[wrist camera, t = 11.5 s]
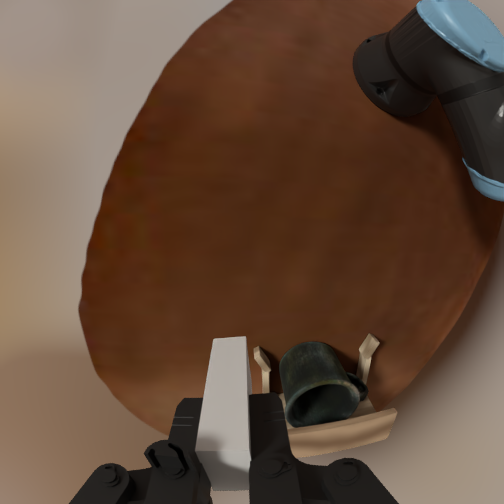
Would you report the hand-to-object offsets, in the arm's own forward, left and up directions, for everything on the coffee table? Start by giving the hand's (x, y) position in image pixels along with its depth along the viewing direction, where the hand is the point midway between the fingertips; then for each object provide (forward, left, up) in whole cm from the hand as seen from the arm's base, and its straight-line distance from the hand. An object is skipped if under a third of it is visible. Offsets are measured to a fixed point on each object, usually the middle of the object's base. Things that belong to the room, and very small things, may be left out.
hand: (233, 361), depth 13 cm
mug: (+22, +12, -29) cm, 38 cm away
